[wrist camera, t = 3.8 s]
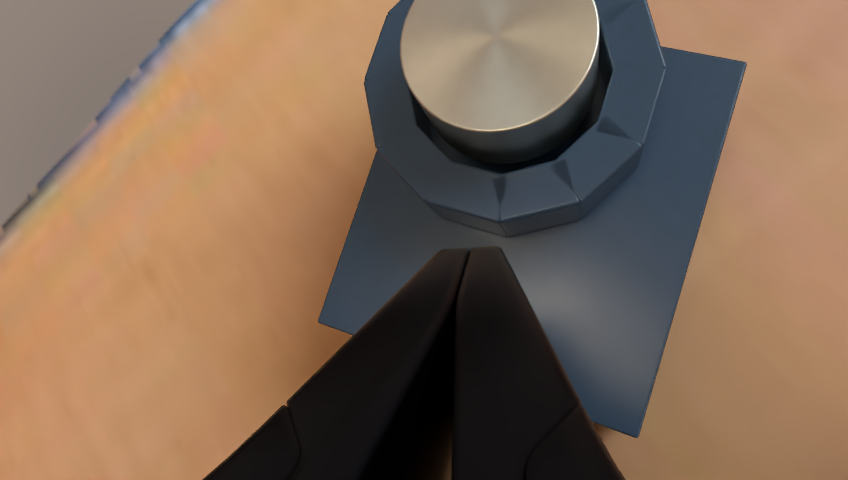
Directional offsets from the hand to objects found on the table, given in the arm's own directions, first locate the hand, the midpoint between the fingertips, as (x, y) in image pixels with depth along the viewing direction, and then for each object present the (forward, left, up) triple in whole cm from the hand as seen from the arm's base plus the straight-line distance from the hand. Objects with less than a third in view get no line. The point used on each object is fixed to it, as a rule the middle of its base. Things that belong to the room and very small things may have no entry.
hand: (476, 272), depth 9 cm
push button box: (+3, +1, -13) cm, 13 cm away
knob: (+5, +2, -6) cm, 9 cm away
